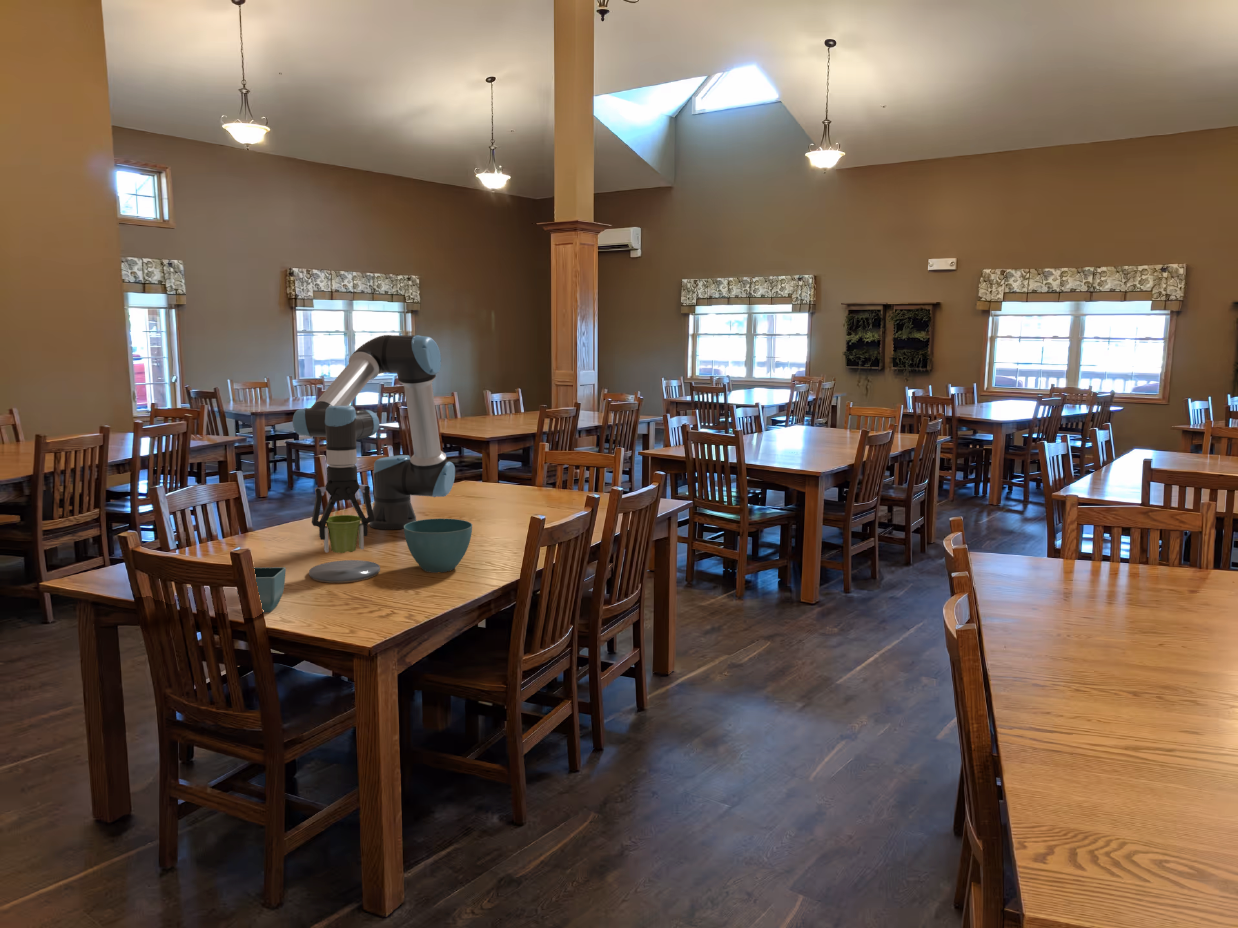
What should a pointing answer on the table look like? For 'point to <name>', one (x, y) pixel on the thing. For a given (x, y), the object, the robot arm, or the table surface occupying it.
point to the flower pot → (270, 586)
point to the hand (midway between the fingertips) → (344, 549)
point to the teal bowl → (438, 542)
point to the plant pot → (343, 532)
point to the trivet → (344, 571)
